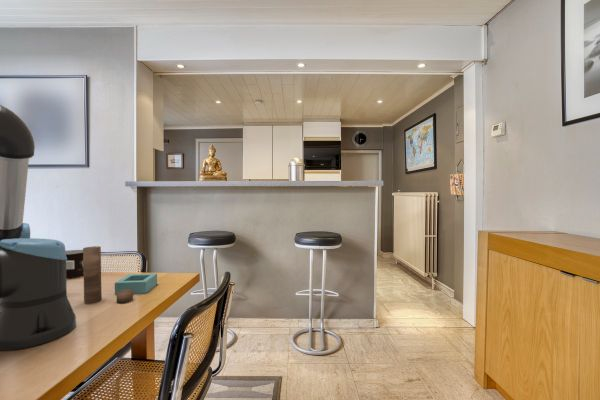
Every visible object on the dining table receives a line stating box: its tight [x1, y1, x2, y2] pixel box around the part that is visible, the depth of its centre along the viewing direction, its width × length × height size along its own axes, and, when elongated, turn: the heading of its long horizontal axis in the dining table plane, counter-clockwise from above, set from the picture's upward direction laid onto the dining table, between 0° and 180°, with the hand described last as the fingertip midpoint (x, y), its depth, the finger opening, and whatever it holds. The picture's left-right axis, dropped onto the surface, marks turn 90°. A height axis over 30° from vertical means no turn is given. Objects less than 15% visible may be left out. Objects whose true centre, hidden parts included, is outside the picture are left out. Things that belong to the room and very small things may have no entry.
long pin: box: [82, 245, 103, 305], centre depth 90 cm, size 4×4×17 cm
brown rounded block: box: [116, 289, 134, 304], centre depth 90 cm, size 4×4×3 cm
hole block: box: [114, 273, 158, 296], centre depth 101 cm, size 10×10×4 cm
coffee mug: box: [66, 249, 84, 279], centre depth 115 cm, size 12×9×10 cm
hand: (59, 270), depth 88 cm, fingers open, 13 cm apart
